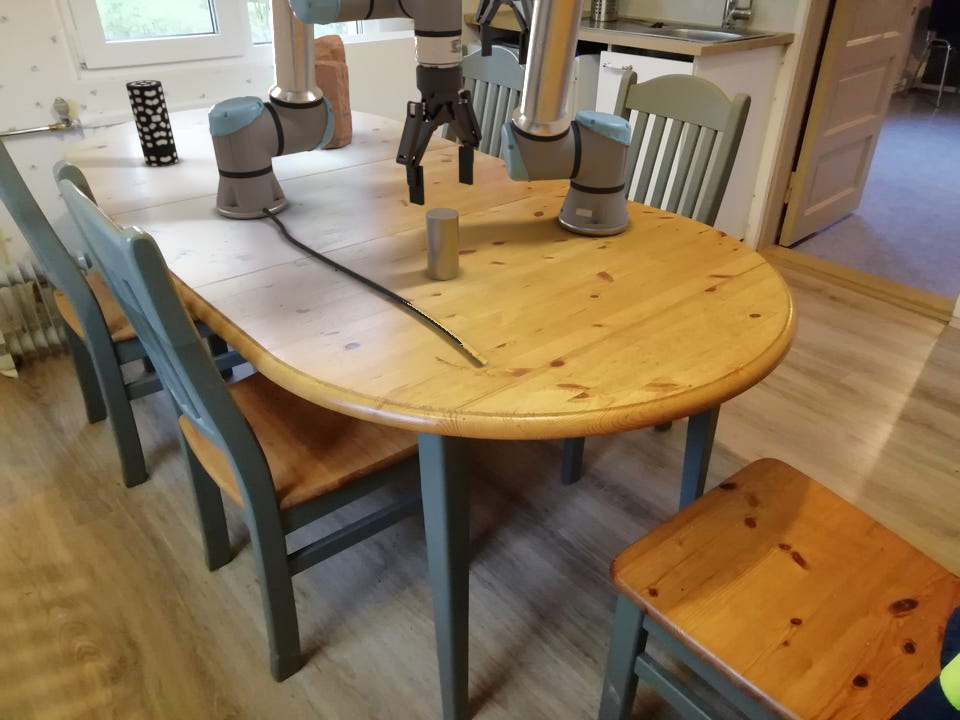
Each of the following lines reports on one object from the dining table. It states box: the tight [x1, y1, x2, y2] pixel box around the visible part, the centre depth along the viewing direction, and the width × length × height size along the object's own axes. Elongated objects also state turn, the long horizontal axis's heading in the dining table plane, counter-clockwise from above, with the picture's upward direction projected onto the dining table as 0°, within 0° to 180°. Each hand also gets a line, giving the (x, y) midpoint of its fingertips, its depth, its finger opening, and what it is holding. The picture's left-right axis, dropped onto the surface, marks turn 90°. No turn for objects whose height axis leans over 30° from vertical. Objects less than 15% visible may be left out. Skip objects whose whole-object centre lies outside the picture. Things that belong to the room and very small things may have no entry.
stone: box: [314, 34, 354, 149], centre depth 199 cm, size 22×11×28 cm, turn 18°
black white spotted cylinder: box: [125, 79, 179, 167], centre depth 181 cm, size 8×8×20 cm
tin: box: [425, 207, 460, 281], centre depth 127 cm, size 6×6×12 cm
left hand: (442, 193), depth 122 cm, fingers open, 13 cm apart
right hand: (504, 60), depth 165 cm, fingers open, 13 cm apart
